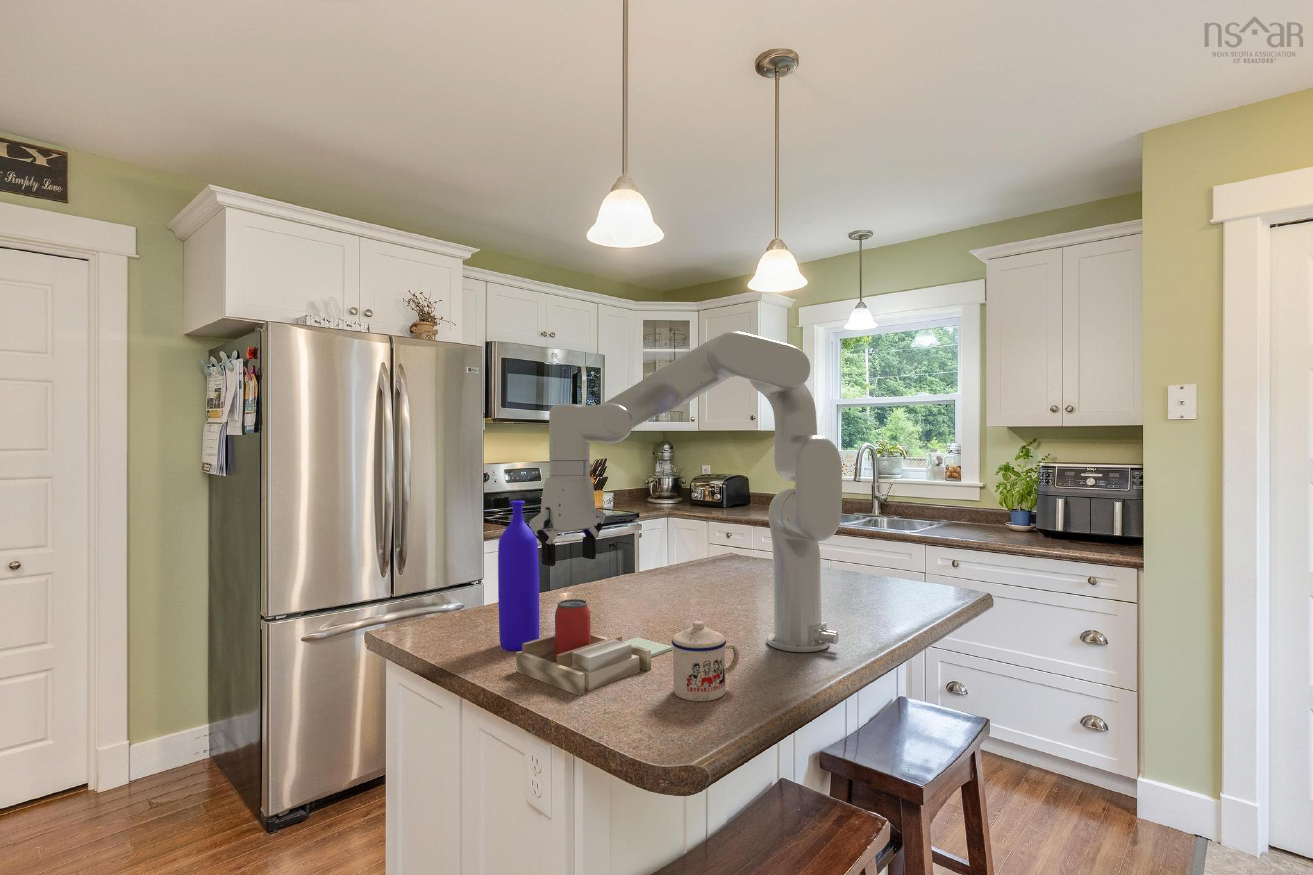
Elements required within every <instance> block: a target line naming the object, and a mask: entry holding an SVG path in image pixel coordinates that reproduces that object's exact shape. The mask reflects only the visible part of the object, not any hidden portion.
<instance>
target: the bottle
mask: <svg viewBox="0 0 1313 875" xmlns="http://www.w3.org/2000/svg"><path fill="white" fill-rule="evenodd" d="M525 503H526V502H525V500H511V501H510V502H509V504H510V505H511V506H512V519H511V522H510V523H509V524H508V526H506V528H505V530H504V531H503V532H502V534H501V535H500V537H499V539H498V548H497V549H498V550H497V588H498V589H497V590H498V591H497V593H498V594H497V599H498V600H497V601H498V604H497V605H498V630H499V632H498V634H499V644H500V648H501V650H504V651H507V652H520V651H522V643H526V642H530V641H533V640H537V639H540V571H539V570H540V566H539V565H540V564H539V547H538V546H539V545H538V539H537V538H536V536H535V535H534V533H533V532H534V531H533V530H532V528H530V526H528V525H527V523H525V521H524V516H523V507H524V505H525Z"/></svg>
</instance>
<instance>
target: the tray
mask: <svg viewBox="0 0 1313 875" xmlns="http://www.w3.org/2000/svg"><path fill="white" fill-rule="evenodd" d="M613 639H615V640H619V641H622V642H623V636H622V635H616V636H613V637H607V636H602V635H599V634H595V633H592V632H591V644H590V645H587V646H584V647H580V648H577V649H574V650H571V651H567V652H564V653H561V654H558V655H556V656H557V663H556V662H555V633H554V634H552V635H547V636H544V637H541V638H540V637H539V639H537V640H533V641H530V642H526V643H522V651H515V654H516V655H515V657H516V659H515V660H516V661H515V662H516V672H517V673H520V674H521V675H522V674H523V675H525V676H527V677H530V678H532V679H535V680H538V681H540V682H542V683H545V684H548V685H550V686H553V687H555V688H558V689H561V690H564V691H566V692H570V693H572V694H574V695H576V696H579V697H581V696H584V695H586V694H585V693H586V689H585V677H584V673H583V672H580V671H577V670H574V669H571V668H570V667H572V652H574V651H578V650H581V649H584V648H587V647H591V646H594V645H597V644H600V643H603V642H607V641H610V640H613ZM632 654H633V655H636V656H639V669H641V670H645V671H649V670H652V657H651V650H649V649H646V648H642V647H638V646H635V645H632Z"/></svg>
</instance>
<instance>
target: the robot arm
mask: <svg viewBox="0 0 1313 875" xmlns="http://www.w3.org/2000/svg"><path fill="white" fill-rule="evenodd" d="M810 373H811V362H810V360H809V358H808V356H807V354H806V353H805V352H804V351H802V350H801V349H800V348H798V347H796V346H794V345H792V344H788V343H785V342H780V341H778V340H773V339H769V338H766V337H762V336H758V335H755V334H754V335H753V334H751V333H746V332H743V331H742V332H741V331H732V330H731V331H727V332H724V333H721V334H720V335H717V336H716V337H713V338H711V339H709V340H707V341H705V342H704V343H702V344H700V345H699V346H697V347H695V348H694V349H692V350H690V351H688V352H686V353H685V354H683V355H681V356H679V357H678V358H676V359H674V360H672V361H670V362H669V363H667V364H666V365H664V366H662V367H660V368H659V369H657V370H655V371H654V372H652V373H651V374H649V375H647V376H646V377H645V378H643V379H641V381H639V382H638V383H636V384H634V385H632V386H631V387H629V388H627V389H625V390H624V391H622V392H620V393H619V394H617V395H615V396H613V397H612V398H610V399H608V400H606V401H605V402H603V403H601V404H592V405H584V404H578V403H577V404H576V403H558V404H555V405H552V407H551V408H550V410H549V414H548V419H549V421H548V424H549V425H548V428H549V429H548V431H549V432H548V433H549V434H548V437H549V438H548V442H549V443H548V444H549V445H548V448H549V449H548V450H549V451H548V452H549V453H548V454H549V456H548V461H549V462H548V465H549V466H548V467H549V468H548V469H549V470H548V472H549V475H548V476H549V477H545V480H544V483H543V489H542V494H541V504H540V513H538V514H537V515H536V516H534V517H532V518H531V519H529V525H530V526H529V527H531V528H530V529H531V530H532V531H533V533H534V535H535V536H536V538H537V542H538V543H540V544H541V564H542V565H543V566H548V567H555V566H556V544H555V543H554V541H555V539H556V537H557V536H558V534H559V533H569V532H576V531H581V532H582V533H583V534H584V536H582V558H584V559H587V560H596V559H597V556H596V555H597V552H596V551H597V548H596V547H597V546H596V545H597V541H596V540H597V538H599V536H600V532H601V530H602V529H603V527H604V526H603V524H604V522H605V519H606V518H607V517H606V516H607V515H606V513H605V512H603V511H602V510H600V509H598V508H597V507H596V499H595V497H596V496H595V490H594V488H595V487H594V483H593V479H592V476H591V475H590V471H592V470H593V464H592V463H590V459H591V458H590V457H591V456H590V453H591V452H590V451H591V450H590V448H591V446H590V444H591V442H597V443H600V444H617V443H620V442H622V441H624V440H625V439H627V438H628V437H629V435H630V434H631V432H632V431H633V429H634V428H636V427H637V426H639V425H641V424H643V423H645V422H646V421H648V420H651V419H653V418H655V417H657V416H659V415H660V416H661V415H662V414H667V413H669V412H672V411H675V410H677V409H678V408H680V407H683V406H685V405H686V404H688V403H689V402H691V401H694V400H695V399H696V398H698V397H699V396H701V395H702V394H705V393H706V392H708V391H709V390H711V389H713V388H714V387H717V386H718V385H720V384H721V383H723V382H725V381H727V380H729V379H730V378H732V377H740V378H744V379H747V380H748V381H750V382H749V383H750V384H751V385H752V387H754V389H755V390H757V391H758V392H759V393H761V394H762V395H763V396H764V397H765V398H766V399H767V401H768V402H769V404H770V406H771V409H772V412H773V419H774V455H773V456H774V459H773V460H774V468H775V471H776V473H777V474H778V475H779V476H780V477H781V478H782V479H783V480H786V481H789V482H793V483H795V488H793V487H792V488H787V489H784V490H781V491H779V492H778V493H776V494H775V495H774V496H773V498H772V500H771V501H770V504H769V506H768V525H769V530H770V535H771V536H770V537H771V542H772V543H771V544H772V560H773V562H772V566H773V568H772V569H773V570H772V572H773V574H772V575H773V612H774V613H773V617H774V618H773V620H774V623H773V624H774V626H773V629H774V630H773V631H772V632H770V633H768V634H767V635H766V642H767V644H768V646H771V647H772V648H774V649H776V650H781V651H786V652H792V653H793V652H794V653H812V652H819V651H823V650H825V649H827V648H829V647H830V645H831V644H832V645H837V644H838V642H839V632H838V631H835V630H829V629H828V628H827V622H825V621H822V580H821V579H822V578H821V577H822V574H821V572H822V571H821V568H822V567H821V565H822V564H821V551H820V545H819V542H824V541H826V540H828V539H831V537H833V536H834V535H835V534H836V533H837V531H838V529H839V527H840V524H841V521H842V512H843V465H842V464H843V463H842V458H841V455H840V452H839V449H838V448H837V446H836V445H835V444H834V442H832V441H831V440H830V439H828V438H827V437H824V436H822V435H818V424H817V422H818V421H817V409H816V403H815V400H814V398H813V395H812V392H811V391H810V390H809V388H808V387H807V385H806V384H805V383H806V382H807V381H808V379H809V377H810Z"/></svg>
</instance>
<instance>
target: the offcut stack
mask: <svg viewBox="0 0 1313 875" xmlns="http://www.w3.org/2000/svg"><path fill="white" fill-rule="evenodd" d="M570 668H571V669H574V670H577V671H580V672H583V673H584V677H585V690H587V691H592V690H594V689H597V688H600V687H602V686H604V685H606V684H610V683H612V682H616V681H618V680H621V679H624V678H626V677H629V676H631V675H634V674H637V673H639V672H640V668H639V656H636V655H633V654H632V644H629V643H626V642H624V641H623V640H622V641H619V640H615V639H613V640H610V641H607V642H603V643H600V644H597V645H594V646H591V647H587V648H584V649H581V650H578V651H574V652H572V667H570Z"/></svg>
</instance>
